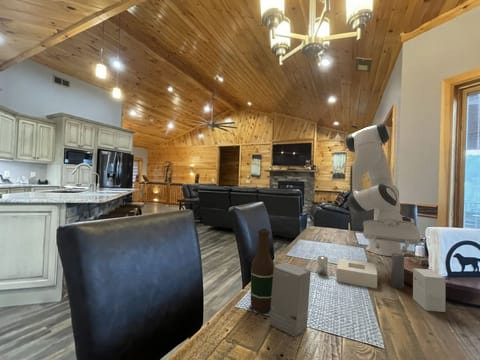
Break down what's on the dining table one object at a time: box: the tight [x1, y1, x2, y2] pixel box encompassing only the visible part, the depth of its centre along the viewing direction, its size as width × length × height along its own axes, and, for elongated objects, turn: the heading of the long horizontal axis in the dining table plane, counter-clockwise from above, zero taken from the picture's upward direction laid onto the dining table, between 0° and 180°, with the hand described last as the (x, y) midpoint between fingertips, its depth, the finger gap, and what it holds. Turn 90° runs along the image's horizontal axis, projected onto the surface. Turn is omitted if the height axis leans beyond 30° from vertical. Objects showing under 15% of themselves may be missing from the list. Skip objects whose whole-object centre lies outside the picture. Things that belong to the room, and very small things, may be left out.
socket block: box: [336, 258, 378, 289], centre depth 101 cm, size 14×14×5 cm
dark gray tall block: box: [390, 253, 405, 290], centre depth 93 cm, size 4×4×12 cm
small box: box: [412, 268, 446, 313], centre depth 79 cm, size 8×6×10 cm
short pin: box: [317, 255, 329, 276], centre depth 105 cm, size 4×4×7 cm
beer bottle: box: [250, 228, 275, 314], centre depth 76 cm, size 8×8×24 cm
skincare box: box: [269, 262, 312, 338], centre depth 67 cm, size 8×7×16 cm
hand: (390, 249), depth 100 cm, fingers open, 8 cm apart
